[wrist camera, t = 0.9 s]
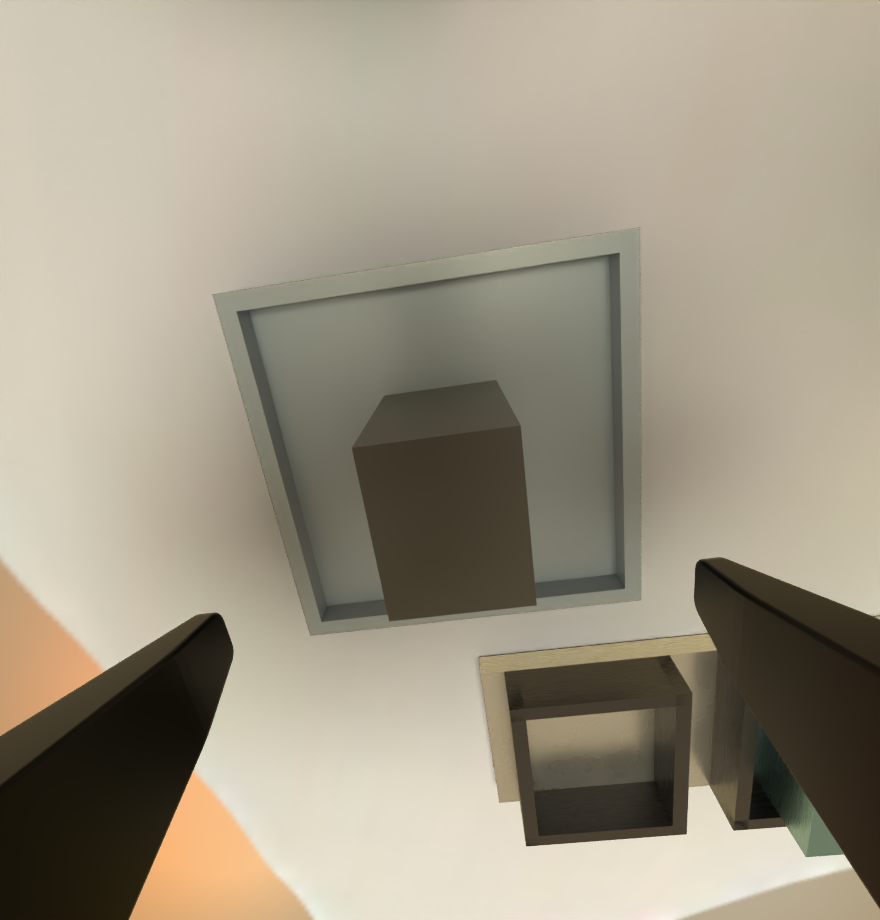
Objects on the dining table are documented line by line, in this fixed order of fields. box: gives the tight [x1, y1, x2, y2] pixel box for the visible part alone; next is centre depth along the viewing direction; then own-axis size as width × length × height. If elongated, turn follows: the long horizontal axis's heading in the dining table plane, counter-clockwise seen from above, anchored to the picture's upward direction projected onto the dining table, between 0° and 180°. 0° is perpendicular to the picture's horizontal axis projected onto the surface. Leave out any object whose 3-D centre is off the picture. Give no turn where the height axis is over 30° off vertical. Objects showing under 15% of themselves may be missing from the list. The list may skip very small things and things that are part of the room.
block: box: [352, 380, 537, 621], centre depth 15 cm, size 4×5×6 cm
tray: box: [213, 227, 641, 636], centre depth 17 cm, size 13×13×2 cm
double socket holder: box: [479, 616, 880, 857], centre depth 20 cm, size 18×8×5 cm, turn 98°
